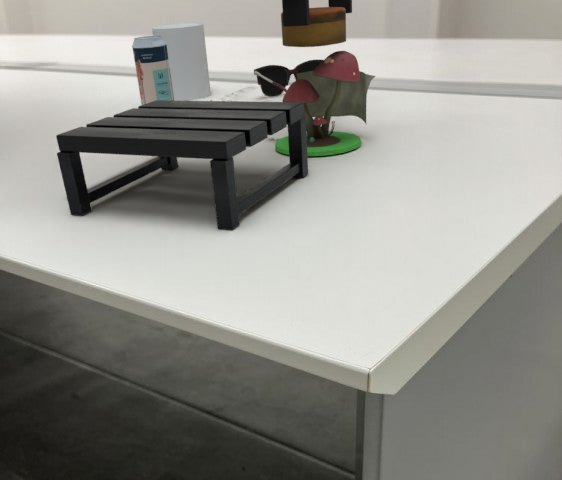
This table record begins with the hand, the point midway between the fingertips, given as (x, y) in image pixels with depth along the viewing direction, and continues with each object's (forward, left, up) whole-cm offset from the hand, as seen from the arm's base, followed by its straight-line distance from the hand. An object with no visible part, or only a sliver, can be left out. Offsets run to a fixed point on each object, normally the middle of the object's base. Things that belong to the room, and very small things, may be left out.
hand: (320, 19), depth 77 cm
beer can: (-28, +7, -14) cm, 32 cm away
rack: (-6, -21, -14) cm, 26 cm away
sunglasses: (-13, +29, -14) cm, 35 cm away
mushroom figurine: (0, 0, -14) cm, 14 cm away
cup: (-33, +23, -14) cm, 43 cm away
